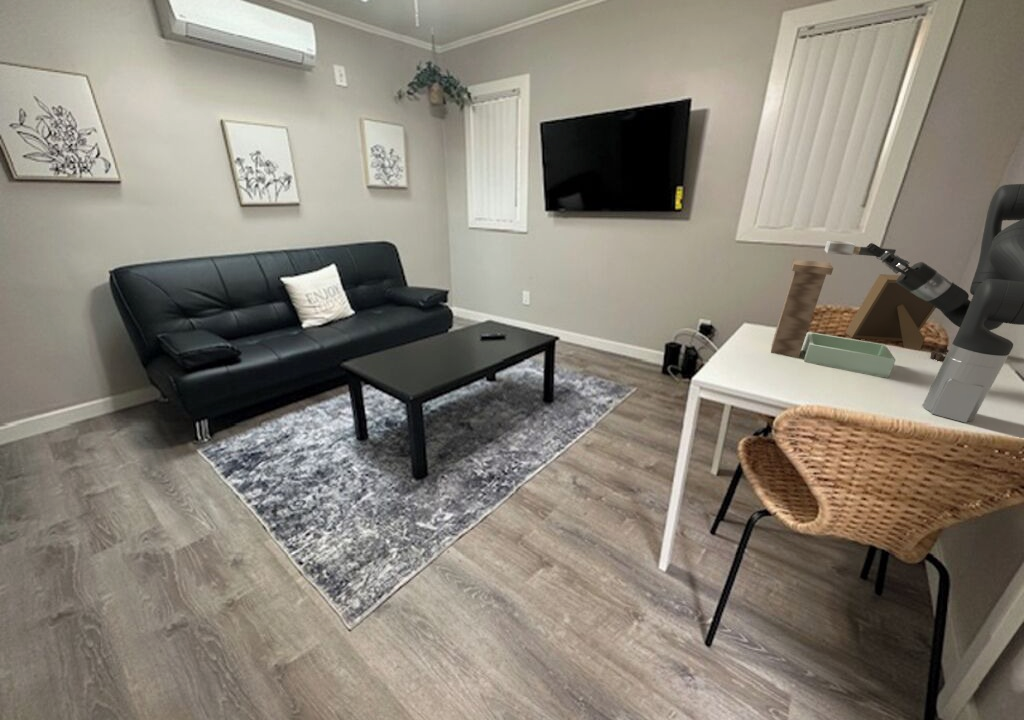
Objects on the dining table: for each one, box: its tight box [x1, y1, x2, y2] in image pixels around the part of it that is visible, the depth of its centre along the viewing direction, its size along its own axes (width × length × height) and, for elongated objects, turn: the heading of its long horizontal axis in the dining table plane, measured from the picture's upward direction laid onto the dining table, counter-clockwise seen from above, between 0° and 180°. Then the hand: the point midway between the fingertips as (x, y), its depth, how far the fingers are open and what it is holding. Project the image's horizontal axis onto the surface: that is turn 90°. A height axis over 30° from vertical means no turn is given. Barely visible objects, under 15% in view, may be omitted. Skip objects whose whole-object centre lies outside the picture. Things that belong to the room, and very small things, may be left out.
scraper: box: [824, 240, 897, 257], centre depth 121 cm, size 16×10×3 cm, turn 58°
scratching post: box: [770, 258, 834, 359], centre depth 134 cm, size 10×14×30 cm
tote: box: [802, 331, 896, 379], centre depth 131 cm, size 21×16×6 cm
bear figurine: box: [930, 347, 949, 362], centre depth 136 cm, size 18×4×14 cm
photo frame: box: [845, 273, 953, 351], centre depth 148 cm, size 15×22×25 cm
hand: (869, 246), depth 120 cm, fingers closed on scraper, 2 cm apart
